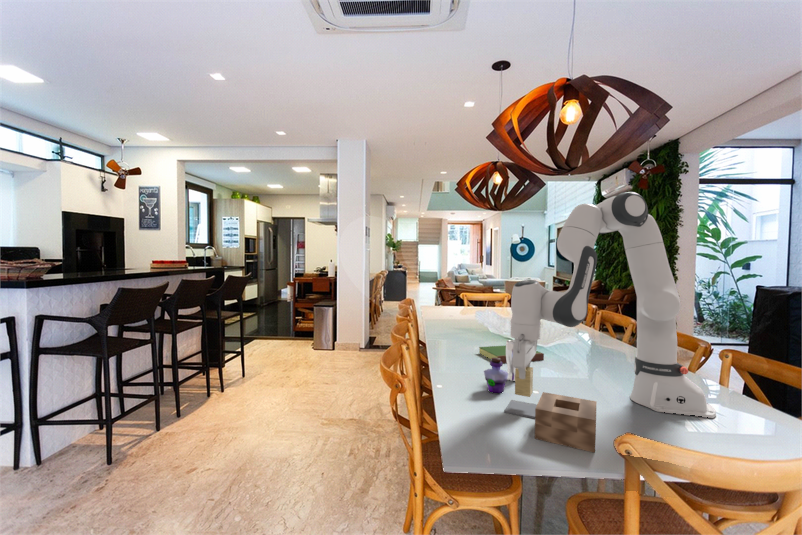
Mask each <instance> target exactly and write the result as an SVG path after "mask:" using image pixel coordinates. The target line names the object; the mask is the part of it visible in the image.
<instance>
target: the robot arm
mask: <svg viewBox="0 0 802 535" xmlns="http://www.w3.org/2000/svg"><path fill="white" fill-rule="evenodd" d="M648 208H649V207H648V205H647V202H646V200H645V198H644V197H643V196H642V195H640V193H637V192H635V191H628V192H620V193H619V194H617V195H614V196H611V197H608V198H606V199H604V200H602V202H599V203H598V204H592V203H580V204H578V205H576V206H575V207H574V208H573V209H572V211H570V214H569V215H568V217H567V219H565V221H564V224H563V226H562V228H561V230H560V232H559V234H558V237H557V241H556V248H557V250H558V252H559V254H560V255H561V256H562V257H564V258H565V259H566V260H568V261H570V262H571V263H573V265H574V268H573V271H572V272H573V273H572V276H571V280H570V283H569V287H568V289H567V290H566V291H556V290H550V289H549V288H546V287H544V286H543V285H541V283H540V282H539V281H538V280H535V279H526V280H525V279H524V280H520V281H517V282H516V283H514V285H513V287H512V290H511V291H512V292H511V299H510V300H511V301H510V302H511V304H510V308H511V318H510V337H511V338H513V339H514V340H515V342H514V345H513V357H512V365H513V367H514V368H518V370H519V378H520V379H525V378H526V367H531V362H532V361H531V360H532V358H533V357H534V356H535V354H536V351H537V349H538V348H537V347H538V340H540V339H541V325H542V324H541V320H542V321H543V320H544V321H547V322H551V323H557V324H558V325H562V326H564V327H568V328H574V327H575V328H576V327H577V326H578V325H580V324H582V322H583V321H584V320H586V317H587V315H588V312H589V311H588V310H589V298H590V292H591V289H592V284H593V281H594V276H595V273H596V270H597V269H596V267H597V262H598V254H597V252H596V250H595V244H596V242H597V239H598V236H599V235H604V234H608V233H613V232H617V231H618V232H619V233H620V235H621V236H622V241H623V247H624V251H625V255H626V259H627V263H628V267H629V273H630V275H631V276H630V277H631V279H632V283H633V287H634V290H635V294H636V356H635V357H634V368H633V370H634V371H633V372H634V374H635V375H634V381H633V387H632V390H631V393H630V395H629V398H630V400H631V401H633V402H634V403H637V405H638V404H639V405H640V406H643V407H646V408H649V409H651V410H653V411H655V412H657V413H664V412H665V413H667V414H673V413H676V414H675V415H681V414H684V416H690V415H695V416H694V417H698V416H702V417H701V418H707V417H708V418H709V419H713V418H716V416H717V411H716V410H715V408H714V407H713V405H711V404H709V403H708V402H707V398H706V395H705V392H704V391H703V389H702V388H701V387H699V385H697V384H696V383H695V382H693V381H692V380H691V379H689V377H687V376H686V375H688V374H689V369H688V368H687V367H686V366H685V365H682V364H681V363H679V362H678V360H677V359H678V336H677V335H678V334H677V333H678V332H677V318H676V317H677V316H678V315H679V314H680V311H681V309H682V303H681V302H682V301H681V298H680V294H679V291H678V289H677V285H676V282H675V278H674V276H673V272H672V269H671V267H670V263H669V259H668V255H667V251H666V247H665V244H664V240H663V236H662V233H661V230H660V227H659V225H658V223H657V220H655V218H654V217H653V216H652V215H651V214H650V213H649V209H648Z"/></svg>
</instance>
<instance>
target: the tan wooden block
mask: <svg viewBox="0 0 802 535" xmlns="http://www.w3.org/2000/svg"><path fill="white" fill-rule="evenodd" d="M514 386H515V387H514V395H517V396H523V397H527V398H531V396H532V395H533V391H534V387H533V386H534V367H531V366H530V367H526V378H525V379H520V378H519V370H518V368H516V369H515V382H514Z"/></svg>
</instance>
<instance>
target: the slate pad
mask: <svg viewBox="0 0 802 535" xmlns="http://www.w3.org/2000/svg"><path fill="white" fill-rule="evenodd" d="M537 404H538V403H530V402H525V401H520V400H515V399H511V400H510V401H509V402H508V404H507V405H506V407H505V408H504V411H503V412H504V413H506V414H509V415H510V414H511V415H515V416H521V417H525V418H529V419H534V420H535V408H536V406H537Z"/></svg>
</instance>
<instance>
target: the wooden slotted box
mask: <svg viewBox="0 0 802 535" xmlns="http://www.w3.org/2000/svg"><path fill="white" fill-rule="evenodd" d="M597 402H598V401H596V400H591V399H585V398H580V397H574V396H567V395H564V394H563V395H562V394H557V393H550V392H545V391H543V392H542V393H541V395H540V398H539V400H538V402H537V403H536V404H537V406H536V408H535V419H534V423H535V424H534V439H535V440H539V441H543V442H547V443H552V444H556V445H561V446H565V447H569V448H573V449H578V450H580V451H581V450H582V451H587V452H591V453H596V436H597Z"/></svg>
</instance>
